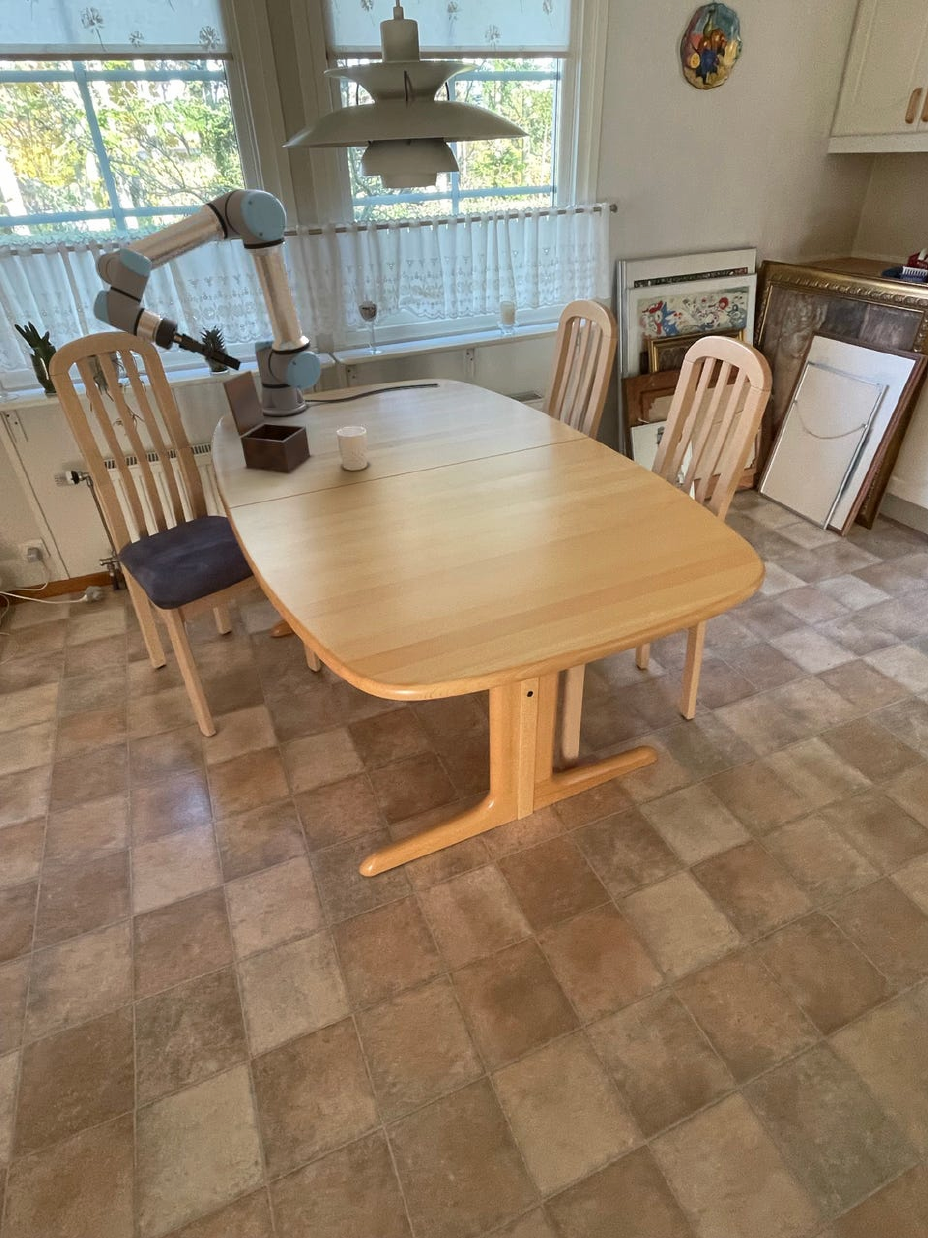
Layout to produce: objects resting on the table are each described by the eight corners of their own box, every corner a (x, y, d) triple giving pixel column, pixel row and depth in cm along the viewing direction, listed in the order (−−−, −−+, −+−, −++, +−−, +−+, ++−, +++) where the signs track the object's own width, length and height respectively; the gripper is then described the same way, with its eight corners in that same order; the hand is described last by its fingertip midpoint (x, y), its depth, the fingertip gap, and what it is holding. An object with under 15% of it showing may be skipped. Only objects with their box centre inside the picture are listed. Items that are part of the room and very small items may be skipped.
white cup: (355, 473, 190) (351, 438, 184) (335, 467, 194) (330, 432, 188) (375, 464, 195) (371, 429, 189) (355, 458, 199) (351, 424, 193)
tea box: (310, 456, 201) (305, 426, 196) (288, 472, 191) (283, 442, 187) (269, 451, 205) (264, 422, 200) (246, 467, 195) (240, 437, 190)
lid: (250, 370, 192) (248, 370, 192) (225, 382, 182) (222, 383, 182) (265, 421, 199) (262, 421, 200) (241, 436, 190) (238, 436, 190)
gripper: (161, 346, 196) (236, 379, 204) (146, 341, 173) (231, 377, 181) (169, 320, 195) (244, 354, 202) (155, 311, 172) (240, 349, 179)
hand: (238, 365), depth 191 cm, fingers open, 13 cm apart
